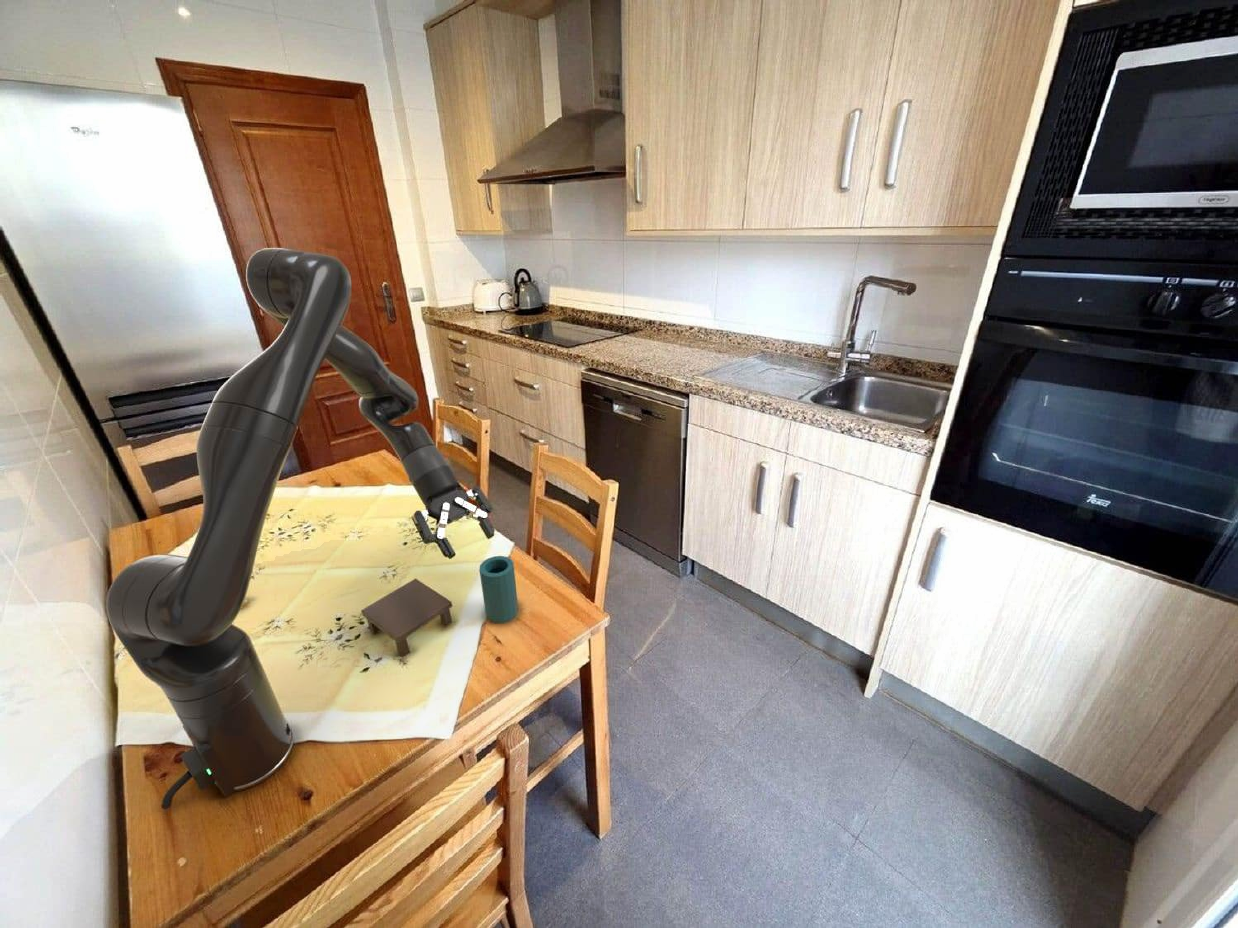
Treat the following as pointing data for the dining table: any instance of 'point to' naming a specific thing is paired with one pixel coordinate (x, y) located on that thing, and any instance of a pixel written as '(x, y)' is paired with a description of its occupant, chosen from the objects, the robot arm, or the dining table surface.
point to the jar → (499, 589)
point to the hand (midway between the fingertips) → (472, 546)
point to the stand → (407, 612)
